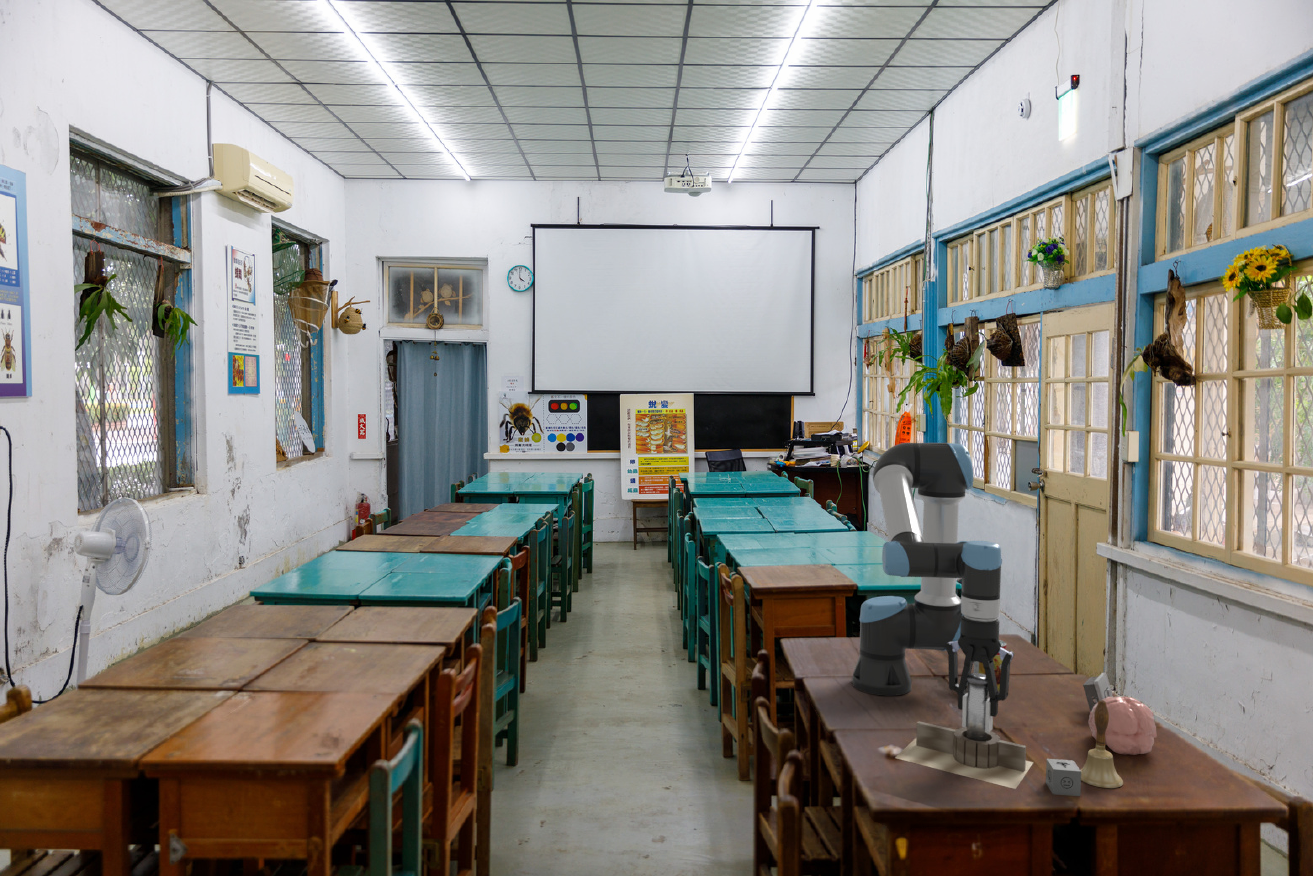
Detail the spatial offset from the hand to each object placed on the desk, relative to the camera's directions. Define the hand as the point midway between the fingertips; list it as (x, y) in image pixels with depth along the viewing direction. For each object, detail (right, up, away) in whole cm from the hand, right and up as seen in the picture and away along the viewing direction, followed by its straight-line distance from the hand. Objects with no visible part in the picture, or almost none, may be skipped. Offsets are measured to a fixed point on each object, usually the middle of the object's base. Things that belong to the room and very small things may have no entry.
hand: (977, 727), depth 180 cm
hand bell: (+22, -9, -6) cm, 25 cm away
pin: (0, -4, 0) cm, 4 cm away
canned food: (+21, -6, +49) cm, 54 cm away
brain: (+36, -8, +11) cm, 38 cm away
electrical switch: (+41, -7, +30) cm, 51 cm away
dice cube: (+13, -9, -10) cm, 19 cm away
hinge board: (-3, -8, 0) cm, 8 cm away
